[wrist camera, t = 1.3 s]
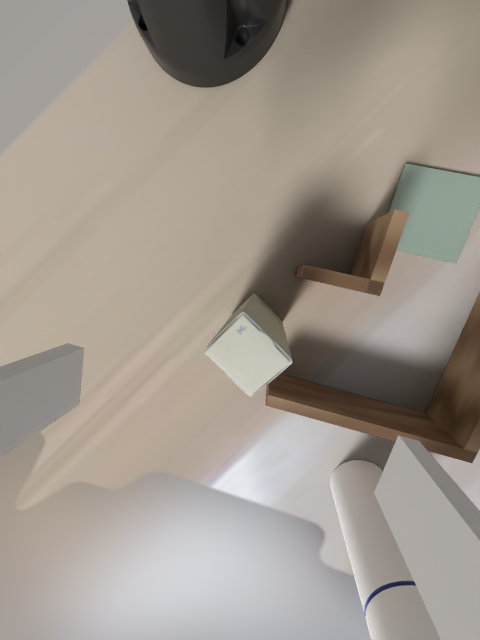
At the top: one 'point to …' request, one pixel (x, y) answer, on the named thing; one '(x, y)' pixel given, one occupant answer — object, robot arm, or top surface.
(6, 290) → the top surface
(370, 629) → the cylindrical container
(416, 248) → the pad
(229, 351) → the box
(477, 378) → the wooden u-shaped enclosure
